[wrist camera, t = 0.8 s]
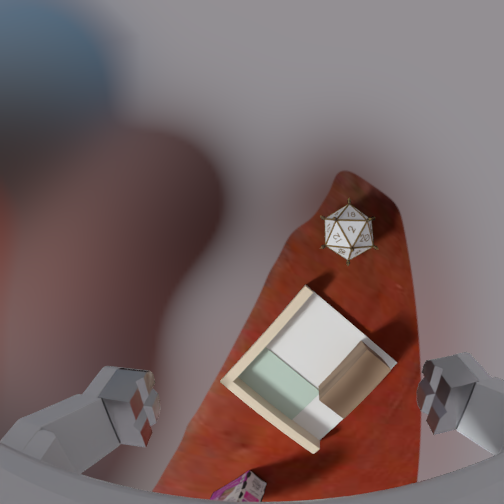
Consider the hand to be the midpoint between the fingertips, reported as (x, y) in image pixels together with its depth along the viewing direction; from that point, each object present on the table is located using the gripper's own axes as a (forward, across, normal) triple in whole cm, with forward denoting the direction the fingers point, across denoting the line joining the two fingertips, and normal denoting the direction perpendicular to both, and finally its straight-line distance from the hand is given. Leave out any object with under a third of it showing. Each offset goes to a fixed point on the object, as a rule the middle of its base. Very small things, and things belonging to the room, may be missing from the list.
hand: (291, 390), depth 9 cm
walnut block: (+34, +12, -25) cm, 44 cm away
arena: (+36, +5, -25) cm, 44 cm away
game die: (+42, +11, -4) cm, 43 cm away
